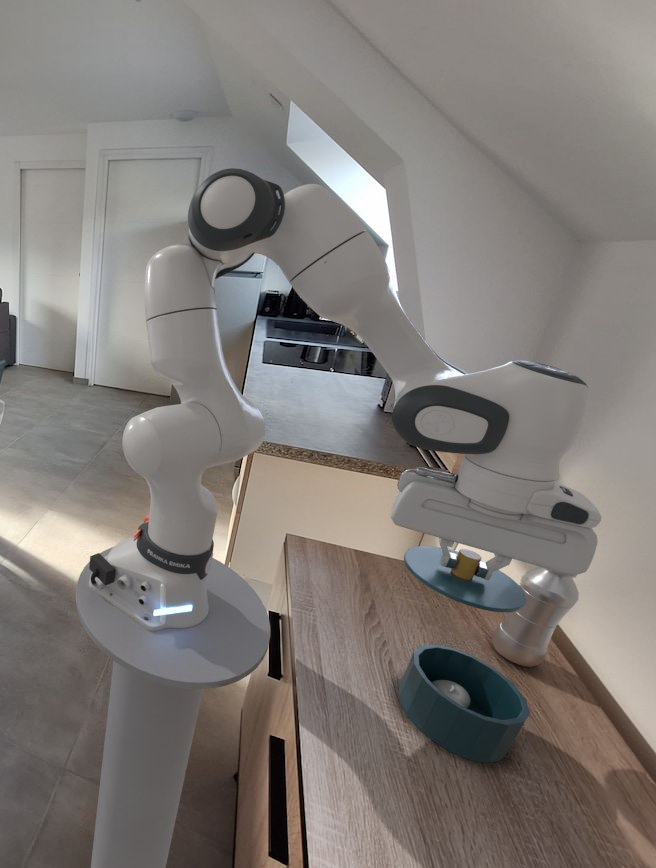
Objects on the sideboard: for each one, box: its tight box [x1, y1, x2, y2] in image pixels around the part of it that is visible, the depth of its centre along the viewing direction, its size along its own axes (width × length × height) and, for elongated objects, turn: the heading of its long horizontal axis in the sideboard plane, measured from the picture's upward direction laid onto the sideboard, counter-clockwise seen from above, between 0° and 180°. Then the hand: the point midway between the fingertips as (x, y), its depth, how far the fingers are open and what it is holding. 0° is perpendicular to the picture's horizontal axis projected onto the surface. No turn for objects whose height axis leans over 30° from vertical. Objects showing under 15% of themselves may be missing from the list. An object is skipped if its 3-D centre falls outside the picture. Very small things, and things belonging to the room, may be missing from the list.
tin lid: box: [403, 545, 526, 613], centre depth 64 cm, size 13×13×5 cm
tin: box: [397, 643, 531, 764], centre depth 65 cm, size 12×12×8 cm
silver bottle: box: [491, 566, 580, 668], centre depth 74 cm, size 6×7×20 cm
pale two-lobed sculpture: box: [431, 680, 470, 708], centre depth 66 cm, size 4×8×5 cm
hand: (463, 570), depth 65 cm, fingers closed on tin lid, 2 cm apart
